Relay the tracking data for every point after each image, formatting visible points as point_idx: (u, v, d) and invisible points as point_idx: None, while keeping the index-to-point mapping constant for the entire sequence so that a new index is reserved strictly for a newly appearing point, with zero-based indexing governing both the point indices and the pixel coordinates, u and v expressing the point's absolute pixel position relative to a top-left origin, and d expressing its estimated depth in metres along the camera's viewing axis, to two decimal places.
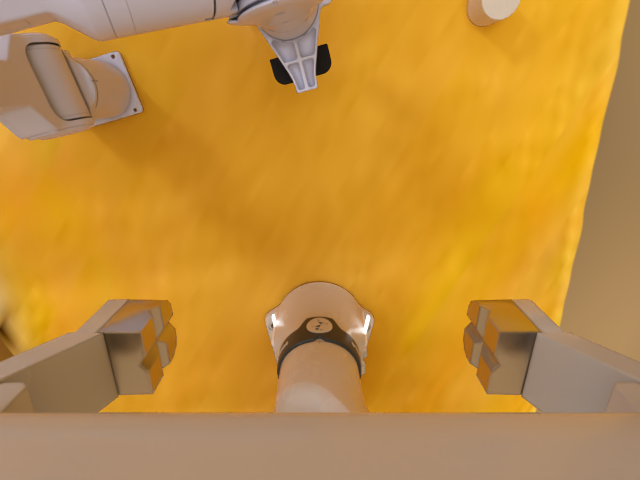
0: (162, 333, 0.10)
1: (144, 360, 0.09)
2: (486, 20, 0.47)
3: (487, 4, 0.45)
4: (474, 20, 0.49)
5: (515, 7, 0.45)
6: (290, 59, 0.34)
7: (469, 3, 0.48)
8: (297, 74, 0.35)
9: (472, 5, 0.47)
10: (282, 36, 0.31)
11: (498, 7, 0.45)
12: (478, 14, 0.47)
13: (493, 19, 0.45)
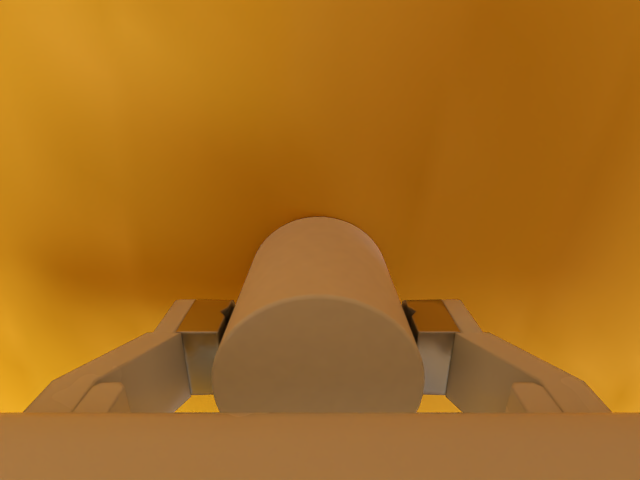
0: None
1: None
2: (313, 263, 0.09)
3: (374, 339, 0.08)
4: (340, 231, 0.11)
5: (220, 383, 0.08)
6: None
7: None
8: None
9: (389, 275, 0.11)
10: None
11: (306, 352, 0.08)
12: (362, 265, 0.09)
13: (293, 292, 0.07)
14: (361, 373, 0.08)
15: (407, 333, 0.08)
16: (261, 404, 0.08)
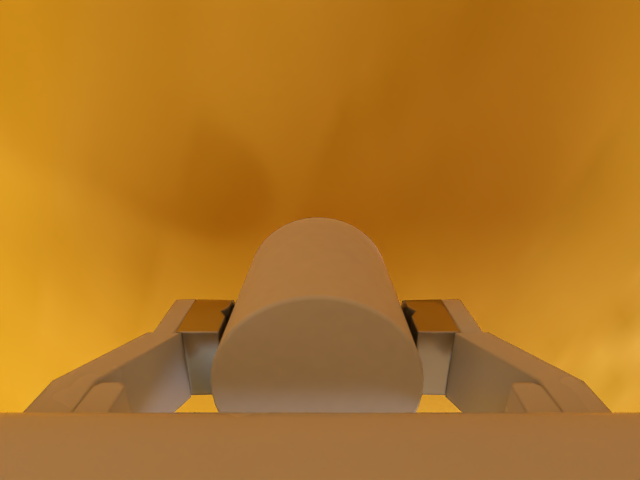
0: None
1: None
2: (312, 263, 0.09)
3: (373, 340, 0.08)
4: (339, 231, 0.11)
5: (219, 384, 0.08)
6: None
7: None
8: None
9: (388, 275, 0.11)
10: None
11: (305, 353, 0.08)
12: (361, 265, 0.09)
13: (292, 292, 0.07)
14: (360, 374, 0.08)
15: (406, 334, 0.08)
16: (260, 405, 0.08)
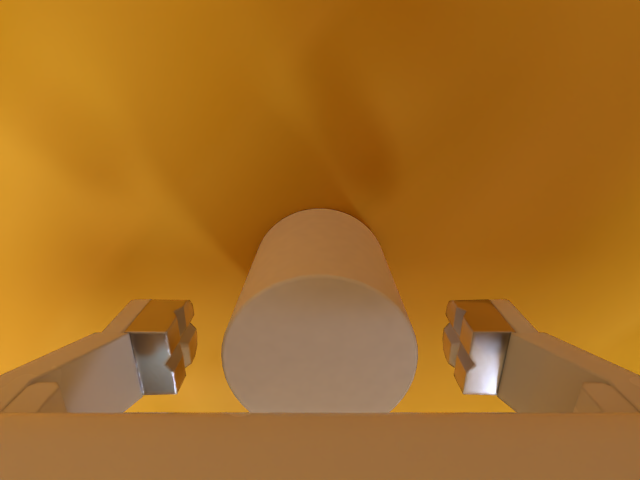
0: (184, 333, 0.10)
1: (169, 360, 0.09)
2: (315, 248, 0.09)
3: (371, 316, 0.08)
4: (340, 221, 0.11)
5: (229, 358, 0.09)
6: None
7: None
8: None
9: (386, 262, 0.11)
10: None
11: (308, 329, 0.08)
12: (360, 251, 0.10)
13: (297, 272, 0.08)
14: (359, 349, 0.09)
15: (401, 311, 0.08)
16: (267, 378, 0.09)
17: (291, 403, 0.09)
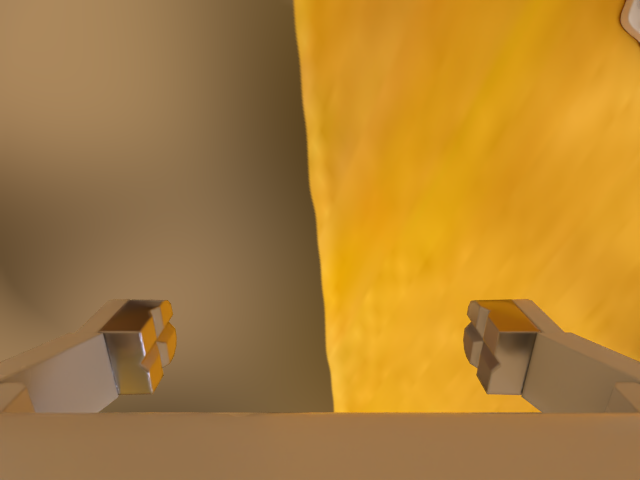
0: (162, 333, 0.10)
1: (144, 360, 0.09)
2: None
3: None
4: None
5: None
6: None
7: None
8: None
9: None
10: None
11: None
12: None
13: None
14: None
15: None
16: None
17: None
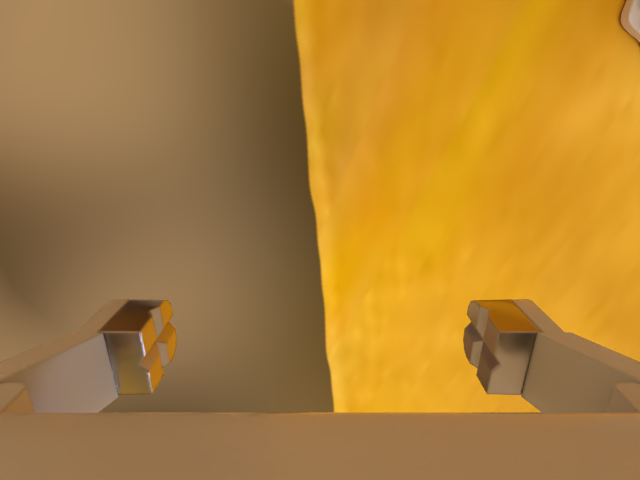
0: (162, 333, 0.10)
1: (144, 360, 0.09)
2: None
3: None
4: None
5: None
6: None
7: None
8: None
9: None
10: None
11: None
12: None
13: None
14: None
15: None
16: None
17: None
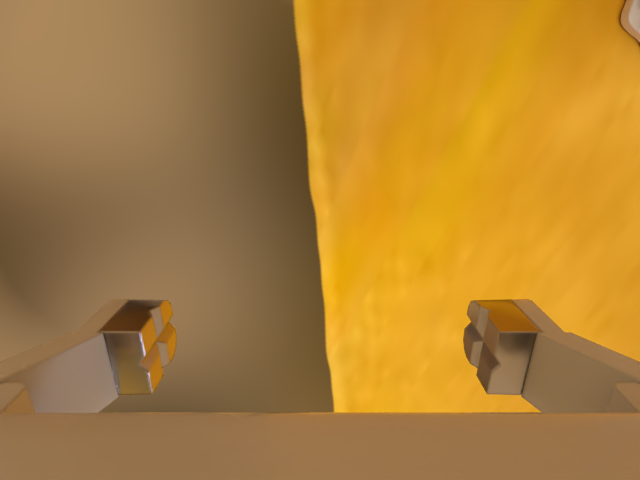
0: (162, 333, 0.10)
1: (144, 360, 0.09)
2: None
3: None
4: None
5: None
6: None
7: None
8: None
9: None
10: None
11: None
12: None
13: None
14: None
15: None
16: None
17: None
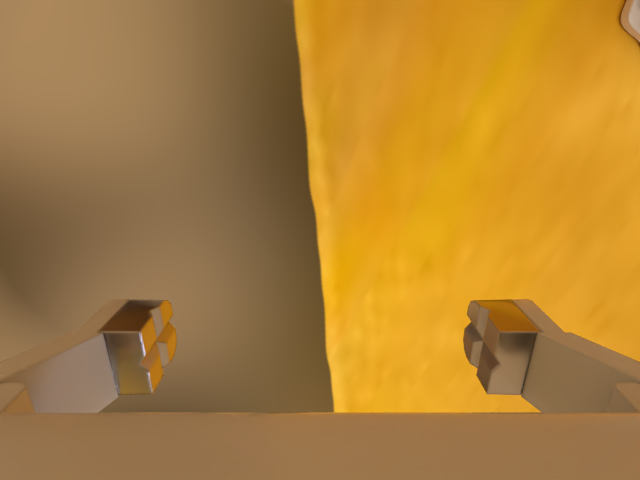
0: (162, 333, 0.10)
1: (144, 360, 0.09)
2: None
3: None
4: None
5: None
6: None
7: None
8: None
9: None
10: None
11: None
12: None
13: None
14: None
15: None
16: None
17: None
